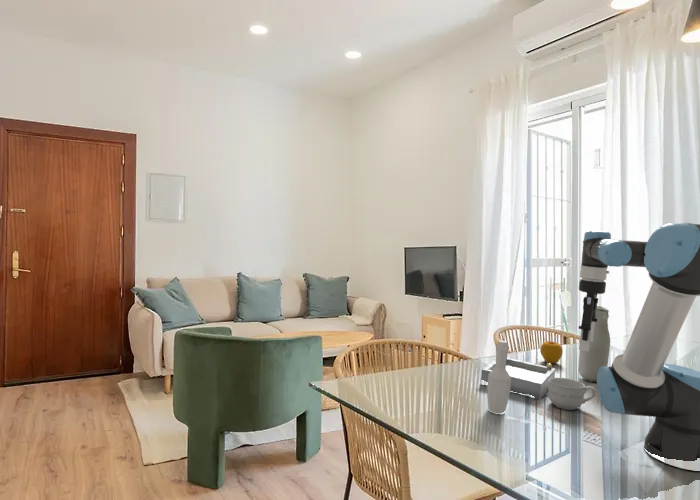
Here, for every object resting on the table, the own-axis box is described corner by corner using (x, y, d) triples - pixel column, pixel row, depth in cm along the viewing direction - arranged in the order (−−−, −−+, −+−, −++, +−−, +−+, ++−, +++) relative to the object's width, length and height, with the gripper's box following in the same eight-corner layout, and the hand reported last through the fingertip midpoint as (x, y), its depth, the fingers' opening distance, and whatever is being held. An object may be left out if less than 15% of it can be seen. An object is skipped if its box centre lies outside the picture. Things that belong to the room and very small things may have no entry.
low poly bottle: (498, 406, 153) (504, 338, 151) (511, 415, 147) (518, 343, 145) (481, 408, 151) (487, 339, 149) (494, 417, 145) (500, 345, 143)
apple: (534, 359, 204) (536, 339, 203) (551, 358, 206) (553, 338, 205) (548, 366, 196) (550, 345, 195) (566, 365, 198) (568, 344, 197)
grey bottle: (602, 377, 186) (610, 305, 183) (608, 387, 176) (617, 310, 173) (574, 373, 189) (581, 302, 186) (579, 382, 179) (586, 307, 176)
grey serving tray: (539, 400, 160) (541, 379, 160) (480, 384, 172) (482, 364, 171) (554, 383, 177) (555, 364, 176) (499, 370, 188) (500, 352, 187)
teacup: (544, 407, 154) (546, 383, 154) (548, 396, 164) (550, 373, 163) (593, 419, 148) (596, 393, 147) (594, 406, 158) (597, 382, 157)
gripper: (603, 285, 142) (595, 357, 144) (608, 277, 163) (602, 339, 165) (575, 282, 146) (568, 352, 148) (583, 274, 167) (577, 335, 169)
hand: (586, 345), depth 157 cm, fingers open, 13 cm apart
